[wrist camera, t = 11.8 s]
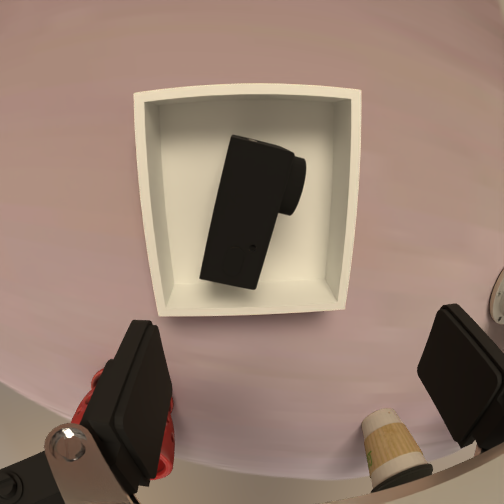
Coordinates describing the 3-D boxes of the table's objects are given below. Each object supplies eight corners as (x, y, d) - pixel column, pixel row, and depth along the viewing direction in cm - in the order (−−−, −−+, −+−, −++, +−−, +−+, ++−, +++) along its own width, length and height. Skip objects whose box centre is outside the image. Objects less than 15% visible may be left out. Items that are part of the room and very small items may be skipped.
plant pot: (95, 403, 39) (73, 464, 28) (92, 343, 34) (56, 413, 23) (175, 426, 41) (166, 491, 30) (189, 372, 36) (178, 451, 25)
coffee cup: (343, 438, 45) (363, 509, 31) (363, 404, 41) (392, 484, 27) (390, 431, 46) (415, 495, 32) (413, 397, 42) (448, 466, 28)
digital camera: (263, 257, 30) (270, 295, 23) (206, 245, 29) (198, 281, 22) (294, 149, 26) (313, 157, 19) (232, 133, 25) (230, 136, 18)
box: (338, 95, 25) (361, 89, 20) (329, 280, 32) (344, 309, 27) (152, 98, 24) (133, 93, 19) (169, 286, 31) (158, 316, 26)
